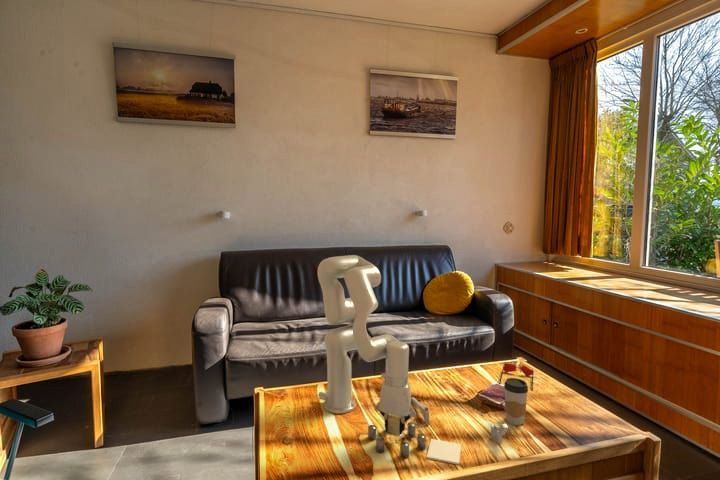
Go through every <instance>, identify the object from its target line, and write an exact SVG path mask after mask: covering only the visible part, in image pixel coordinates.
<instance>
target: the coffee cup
mask: <svg viewBox="0 0 720 480" xmlns="http://www.w3.org/2000/svg"><path fill="white" fill-rule="evenodd" d="M503 388H504V409H505V410H504V411H505V420H506V422H507V423H508V424H510V425H513V426H522V425H523V424H524V423H525V419H526V418H525V416H526V408H527V400H528V392H529V386H528V384H527V382H526V381H525V380H523V379H520V378H516V377H509V378H507V379H506V380H505V382H504V386H503Z"/></svg>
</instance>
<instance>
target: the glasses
mask: <svg viewBox="0 0 720 480" xmlns="http://www.w3.org/2000/svg"><path fill="white" fill-rule="evenodd" d="M517 367H519V368H518V369H519V372H520V373H523V374H524V376H526V377H530V376H531V391H532V392H533V391H534V385H533V384H534V370H533V368H532V367H530V366H525V365H521V366H520V365H518V364H514V363H513V364H512V363H504V364H503V367H502V370H501V373H500V377H499V383H498V385H499V384H500V385H501V383H502V378H503V374H504V373H511V372H517Z"/></svg>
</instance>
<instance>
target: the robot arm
mask: <svg viewBox="0 0 720 480" xmlns="http://www.w3.org/2000/svg"><path fill="white" fill-rule="evenodd" d="M317 278H318V282H319V285H320V288H321V292H322V299H323V308H324V314H325V315H324V316H325V319H326V321H327V324H328V325H330V326H331V325H332V326H337V325H338V326H339V325H343V324H347V323H348V325H345V326H341V327H340V326H339V327H337V328H333V329H332V330H331V329H330V330H329V331H328V332H327V333H326V334H325V336H324V345H325V352H326V358H327V359H326V364H327V365H326V366H327V367H326V368H327V369H326V370H327V384H326V385H327V391H326V392H324V391H319V392H318V399H319V400H321V401H322V400H323V408H324V409H325V410H326V412H328V413H332V414H340V415H341V414H342V415H343V414H346V413H350V412H351V411H352V410H354V409H355V407H356V401H355V399H353V398H352V360H351V359H350V357H349V356H348V352H349V351H352V350H356V349H357V352H358V354H359V356H360V358H361V359H362V360H363V361H364V362H367V363H372V362H376V361H379V360H382V359H385V372H383V373H381V375H380V378H383V379H384V380H383V381H382V383H381V387H380V394H379V395H380V396H379V401H378V402H377V403H376V404H375V406H374V408H375V410H376V411H377V412H378V413H380V415H381V416H382V417H383V420H384V428H385V427H386V431H388V416H389V414H393V415H398V416H401V422H400V435H403V432H405V429H406V423H407V422H408V421H409V420H410V419H412V418H414V417H416V415H417V412H416V410H415V409H414V407H413V405H412V399H411V398H412V392H411V385H410V382H409V381H408V380H409V363H410V361H409V360H410V359H409V358H410V356H409V355H410V347H409V345H408V344H407V343H406V342H404V341H402V340H401V341H400V340H399V339H397V338H396V337H395V336H393V335H392V334H390V333H385V334H381V335H377V336H373V337H371V338H369V334H368V331H367V322H368V321H367V320H368V318H369V316H370V315H371V314H372V313H374V311H376V309H377V308H378V306H379V302H378V300H377V297H376V295H375V292H374V290H373V288H375V287H378V286H379V285H380V284H381V282H382V275H381V272H380V270H379V269H378V267H377V266H376V265H374V264H373V263H372V262H370V261H368V260H366V259H365V258H363V257H361V256H359V255H356V254H351V255H340V256H332V257H328V258H327V257H326V258H325V259H323V260H322V261H321V262H320V263H319V265H318V266H317ZM338 279H344V282H345V283H344V284H345V285H346V288H347V291H348V294H349V297H348V298H346V297H345V289H344V287H343V284H342V283H341V282H340V281H339V280H338Z"/></svg>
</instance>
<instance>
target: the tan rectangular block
mask: <svg viewBox="0 0 720 480" xmlns="http://www.w3.org/2000/svg"><path fill="white" fill-rule="evenodd" d="M400 422H401V416H398V415H393V414H389V416H388V433H387V435H389V436H395V437H400V435H401V434H400Z"/></svg>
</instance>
